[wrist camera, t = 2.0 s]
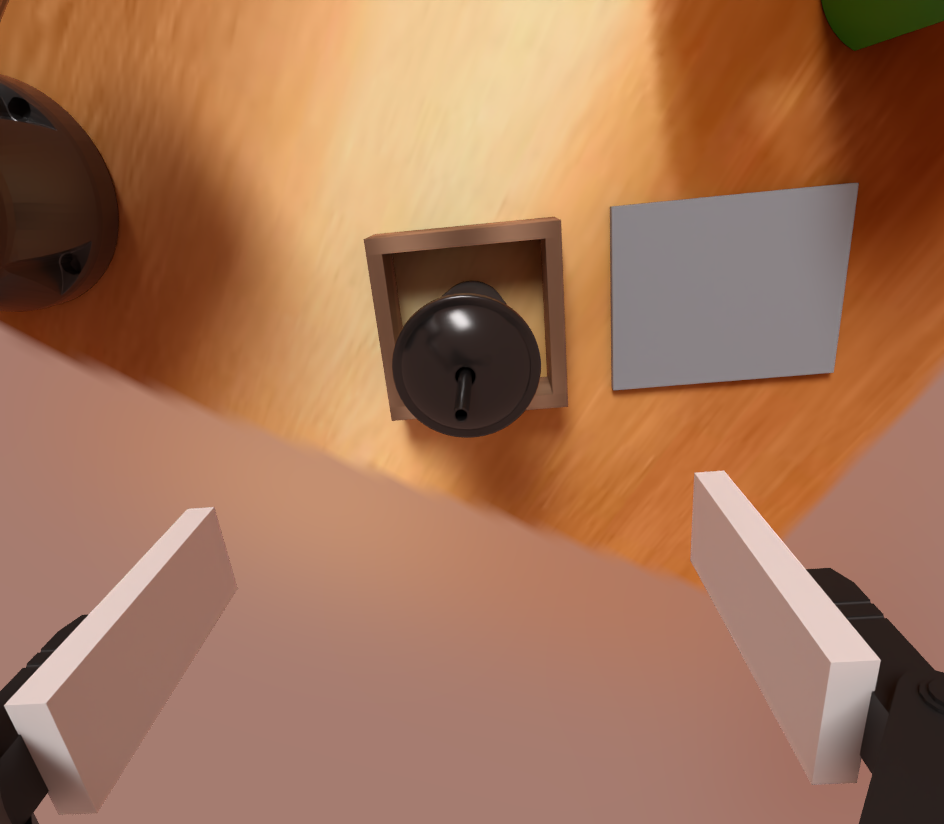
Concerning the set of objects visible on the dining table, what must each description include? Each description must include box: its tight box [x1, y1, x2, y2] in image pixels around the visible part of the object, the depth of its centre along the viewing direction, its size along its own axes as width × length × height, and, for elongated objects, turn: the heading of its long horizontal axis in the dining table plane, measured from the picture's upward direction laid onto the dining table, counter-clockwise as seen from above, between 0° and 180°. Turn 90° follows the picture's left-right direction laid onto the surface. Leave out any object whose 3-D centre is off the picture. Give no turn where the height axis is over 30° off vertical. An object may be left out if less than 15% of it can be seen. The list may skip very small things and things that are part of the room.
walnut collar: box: [364, 217, 568, 421], centre depth 41 cm, size 12×12×4 cm
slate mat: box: [610, 183, 859, 390], centre depth 41 cm, size 16×13×1 cm
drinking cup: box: [392, 281, 541, 437], centre depth 33 cm, size 8×8×20 cm
